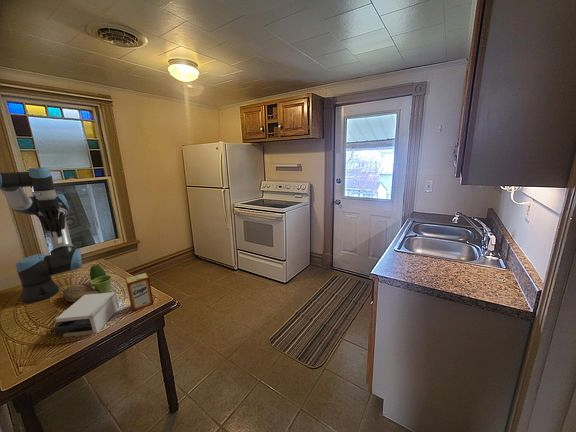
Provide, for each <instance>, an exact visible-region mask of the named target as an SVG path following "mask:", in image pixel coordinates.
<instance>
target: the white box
mask: <svg viewBox="0 0 576 432" xmlns="http://www.w3.org/2000/svg"><path fill="white" fill-rule="evenodd" d="M119 308H120V305H119V300H118V295H117V292H116V291H113V292H112V291H111V292H110V293H100V294H89V295H84V296H82V297H81V298H80V299H79V300H78V301H76V302H73V304H72V305H70V306H69V307H68V308H67V309H65V310H64V311H63V312H62V313H61V314H60V315H58V316H57V317H56V318H55V321H56V323H58V322H59V323H61V322H62V321H71V320H80V319H90V322H91V326H92V329H93V330H90V331H80V332H71V333H64V334H63V335H62V336H63V338H68V337H78V336H79V337H80V336H86V335H93V334H98V333H99V332H100V331H101V330H102V328H103V327H104V325H105V324H106V323H107V322H108V321H109V320H110V319H111V318H112V317H113V315H114V314H115V313H116V312H117V311H118V310H119Z"/></svg>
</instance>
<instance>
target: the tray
mask: <svg viewBox="0 0 576 432" xmlns="http://www.w3.org/2000/svg"><path fill="white" fill-rule="evenodd" d="M90 330H93V329H92V326H91V322H90V319H80V320H71V321H61V322H59V323H58V324H57V325H56V326H55V327H54V328H53V331H54V333H55V335H62V334H64V333H71V332H80V331H90Z"/></svg>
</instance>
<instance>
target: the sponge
mask: <svg viewBox="0 0 576 432" xmlns="http://www.w3.org/2000/svg"><path fill="white" fill-rule="evenodd" d="M89 294H98V291H97V290H96V289H95V287H91V286H86V285H82V284H77V285H70V286H68V287H66V288H65V289H64V290H63V293H62V295H63V297H64V299H65V301H68V302H69V303H75V302H76V301H78V300H79V299H80V298H81V297H82V296H84V295H89Z"/></svg>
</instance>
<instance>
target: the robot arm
mask: <svg viewBox="0 0 576 432" xmlns="http://www.w3.org/2000/svg"><path fill="white" fill-rule="evenodd" d="M53 180H54V179H53V176H52V172H51V171H50V168H49V167H29V168H28V171H14V172H0V191H1V192H2V194H3V195H4V196H5V198H6V200H7V204H8V206H9V207H10V208H11V210H13V211H15V212H17V213H20V214H23V215H30V216H36V217H37V218H38V220H39V222H40V223H41V225H42V227H43V229H44V230H45V231H46V232H49V235H50V239H51V245H52V249H51V250H50V254H48V255H46V254H45V253H36V254H33V255H29V256H26V257H24V258H22V259H20V260H18V261H17V262H16V264H15V268H16V272H17V275H18V277H19V280H20V283H21V286H22V288H21V289H22V290H21V296H20V298H21V299H20V300H21V302H22V303H25V304H32V303H36V302H40V301H43V300H47V299H49V298H52V297H54V296H55V295H56V294H58V293H59V292H60V287H59V286H58V285H57V284H56V283H55V282H54V280H53V278H52V276H55V275H58V274H62V273H66V272H69V271H74V270H77V269H80V268H81V267H82V253H81V252H82V251H81V249H80V248H77V246H75V245H73V242H72V238H71V235H70V230H69V226H68V223H67V218H66V215H67V214H68V212H69V211H70V206H69V204H68V201H67V199H66V196H65V195H64V194H62V193H57V192H56V189H55V185H54V181H53ZM26 187H27V188H28V187H32V188H33V193H34V195H33V196H32V195H31V196H30V195H29V196H28V195H27V194H26V192H25V191H24V189H23V188H26Z"/></svg>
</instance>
